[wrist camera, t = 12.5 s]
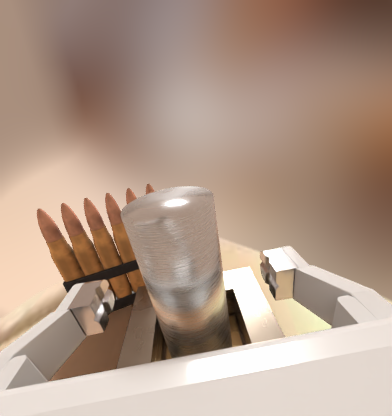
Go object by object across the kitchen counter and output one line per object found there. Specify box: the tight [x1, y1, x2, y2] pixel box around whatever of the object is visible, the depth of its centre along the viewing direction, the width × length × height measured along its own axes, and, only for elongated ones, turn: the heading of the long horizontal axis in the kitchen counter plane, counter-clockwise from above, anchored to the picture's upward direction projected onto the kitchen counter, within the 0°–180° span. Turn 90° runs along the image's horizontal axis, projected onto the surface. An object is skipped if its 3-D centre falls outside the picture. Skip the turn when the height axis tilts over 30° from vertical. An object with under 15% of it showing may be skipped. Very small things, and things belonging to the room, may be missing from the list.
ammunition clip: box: [37, 184, 155, 312], centre depth 18 cm, size 11×2×12 cm, turn 109°
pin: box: [121, 186, 233, 359], centre depth 11 cm, size 4×4×12 cm
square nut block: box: [116, 267, 285, 369], centre depth 13 cm, size 10×10×4 cm
